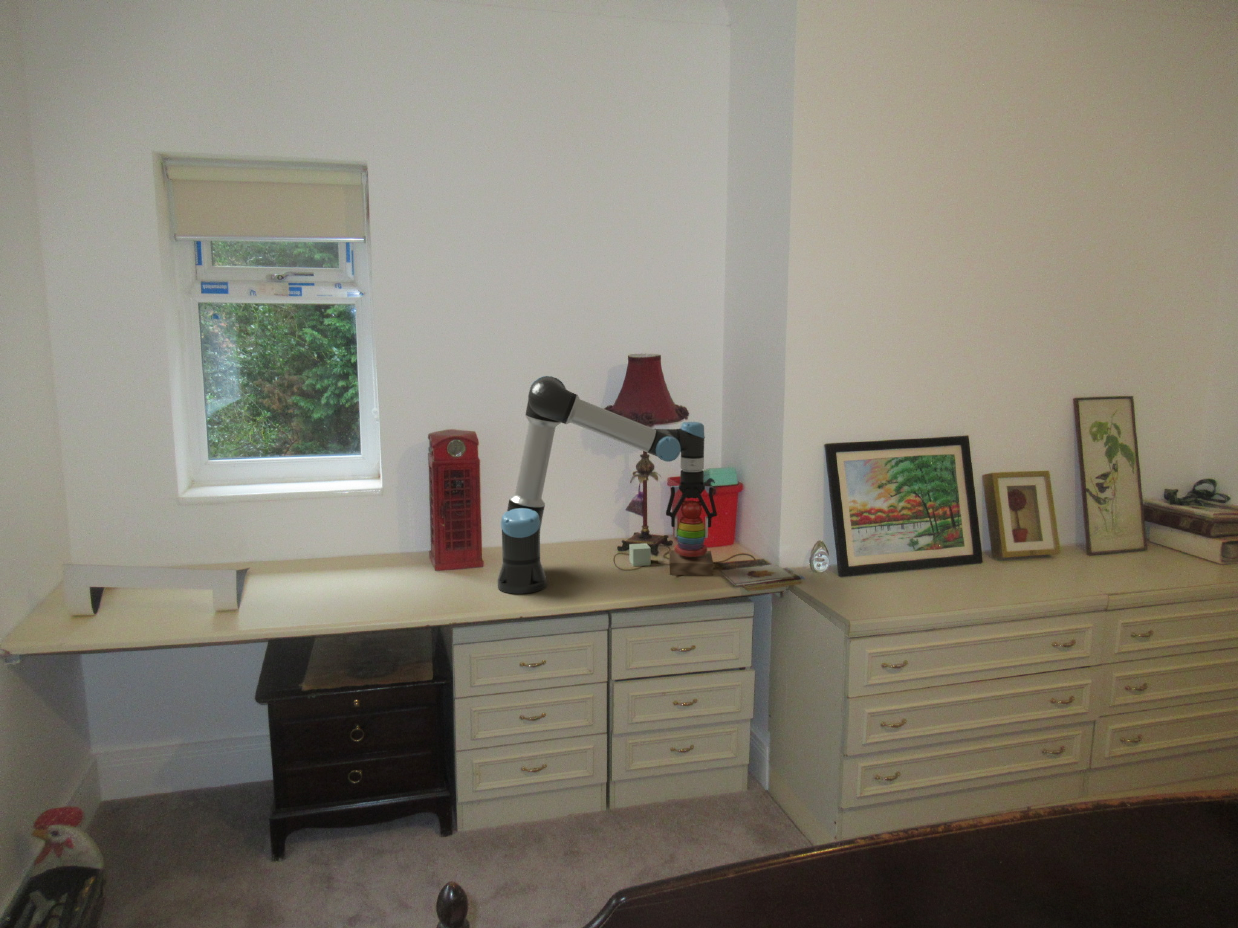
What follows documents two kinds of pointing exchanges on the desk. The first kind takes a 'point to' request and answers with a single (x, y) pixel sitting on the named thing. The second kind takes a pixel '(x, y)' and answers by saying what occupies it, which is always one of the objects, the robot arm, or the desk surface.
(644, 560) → the block
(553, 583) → the desk surface
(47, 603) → the desk surface
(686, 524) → the stacking bear
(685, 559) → the base slab
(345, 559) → the desk surface
